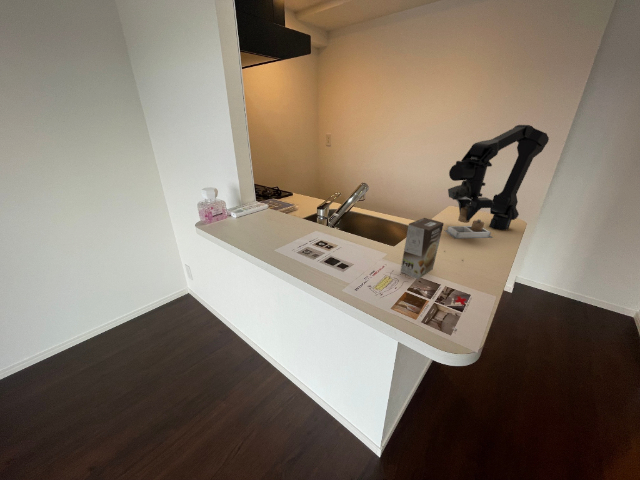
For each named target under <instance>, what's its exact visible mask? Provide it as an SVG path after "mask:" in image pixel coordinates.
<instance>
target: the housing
mask: <svg viewBox="0 0 640 480" xmlns="http://www.w3.org/2000/svg"><path fill="white" fill-rule="evenodd" d="M471 227H472V225H455V226H454V225H452V226H451V225H449V226H447V229H445V230H444V229H443V231H444V232H445V233H447V234H448V235H449V236H450V237H452V238H453V239H456V240H457V239H458V240H459V239H493V238H494V237H493V236H492V235H491V234H492V232H491V231H490V230H488V229H486V228H484V227H483V230H482V232H474V231H472V230H471Z"/></svg>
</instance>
